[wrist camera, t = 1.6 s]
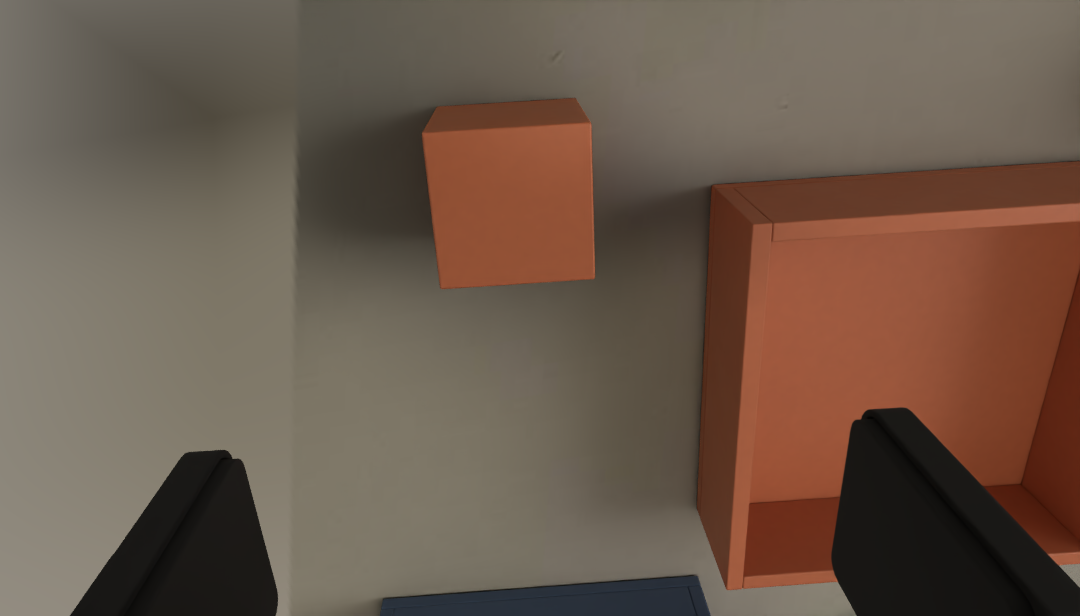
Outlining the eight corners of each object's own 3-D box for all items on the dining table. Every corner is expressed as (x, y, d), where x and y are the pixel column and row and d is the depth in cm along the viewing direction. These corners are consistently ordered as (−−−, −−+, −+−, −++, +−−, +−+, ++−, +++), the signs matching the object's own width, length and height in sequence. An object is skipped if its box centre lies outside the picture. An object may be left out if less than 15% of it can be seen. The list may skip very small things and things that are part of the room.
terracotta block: (450, 239, 25) (440, 290, 21) (436, 106, 23) (420, 132, 19) (580, 231, 25) (595, 279, 21) (576, 97, 24) (591, 121, 19)
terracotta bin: (696, 508, 31) (726, 590, 27) (710, 184, 25) (752, 224, 21) (1022, 484, 31) (1102, 562, 27) (1112, 158, 25) (1233, 192, 21)
